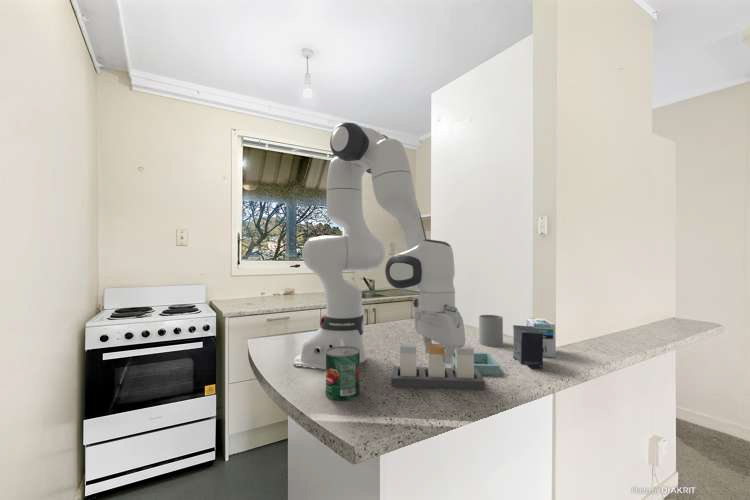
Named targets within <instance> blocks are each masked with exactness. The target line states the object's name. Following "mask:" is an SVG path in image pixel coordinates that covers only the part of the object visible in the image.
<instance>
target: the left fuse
mask: <svg viewBox="0 0 750 500" xmlns="http://www.w3.org/2000/svg"><path fill="white" fill-rule="evenodd" d="M399 352H400V353H399V355H400V358H399V359H400V360H399V362H400V363H399V366H400V376H416V367H417V343H416V342H400V346H399Z"/></svg>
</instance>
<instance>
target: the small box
mask: <svg viewBox="0 0 750 500" xmlns="http://www.w3.org/2000/svg"><path fill="white" fill-rule="evenodd" d="M512 329H513V347H512V349H513V351H512V358H513V359H514V360H515V361H517V362H518V363H519V364H520V365H522V366H527V368H530V369H541V370H542V369H543V367H544V361H543V360H544V357H543V333H542V332H540V331H539V330H537V329H536V328H534V327H533V326H527V325H516V324H513V325H512Z"/></svg>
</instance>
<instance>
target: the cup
mask: <svg viewBox="0 0 750 500" xmlns="http://www.w3.org/2000/svg"><path fill="white" fill-rule="evenodd" d="M503 319H504V318H503V316H501V315H494V314H481V315H479V316H478V344H480V345H481V346H484V347H491V348H496V347H498V348H499V346H500V347H503V346H504V321H503ZM502 345H503V346H502Z"/></svg>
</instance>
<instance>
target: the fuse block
mask: <svg viewBox="0 0 750 500" xmlns="http://www.w3.org/2000/svg"><path fill="white" fill-rule="evenodd" d="M391 374H392V375H391V387H392V388H393V387H395V388H414V389H415V388H417V389H418V388H419V389H440V390H442V389H445V390H446V389H447V390H448V389H449V390H467V391H469V390H470V391H471V390H473V391H486V390H485V387H486V386H485V379H484V378H483V375H481V374H480V373H479V371H478V369H474V378H455V368H451V367H445V377H428V366H427V367H425V366H416V376H400V365H399V366H396V365H395V366H393V367H392V373H391Z"/></svg>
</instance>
